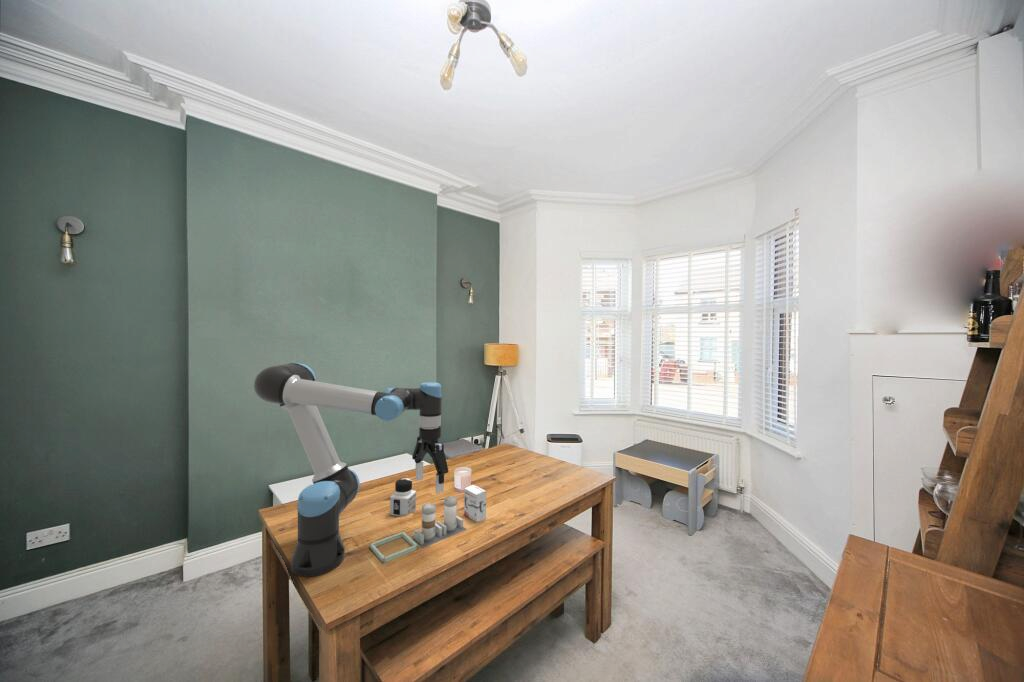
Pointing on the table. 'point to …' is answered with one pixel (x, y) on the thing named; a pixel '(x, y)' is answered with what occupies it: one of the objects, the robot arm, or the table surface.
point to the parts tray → (395, 555)
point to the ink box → (475, 503)
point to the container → (403, 498)
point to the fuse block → (438, 533)
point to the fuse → (450, 513)
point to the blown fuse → (428, 521)
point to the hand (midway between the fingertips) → (429, 486)
